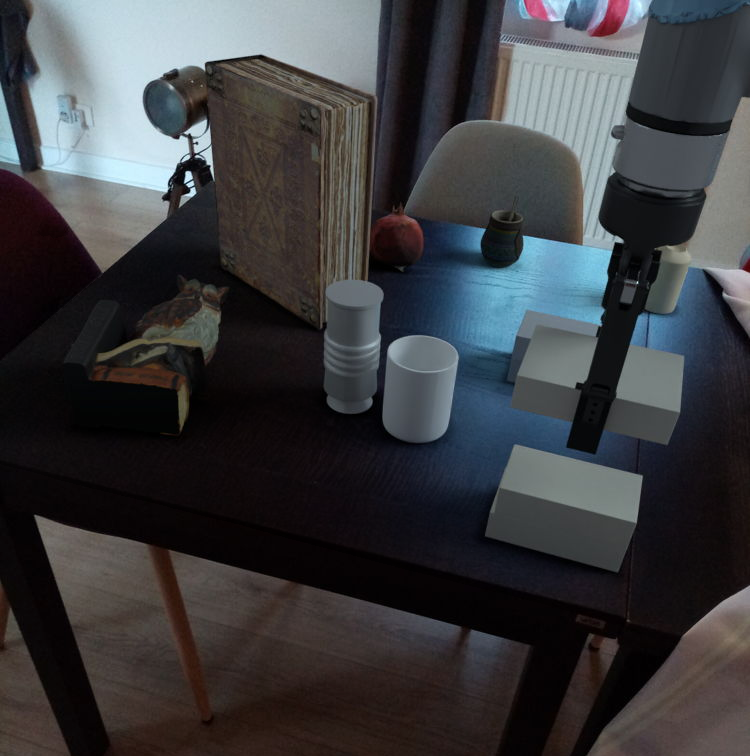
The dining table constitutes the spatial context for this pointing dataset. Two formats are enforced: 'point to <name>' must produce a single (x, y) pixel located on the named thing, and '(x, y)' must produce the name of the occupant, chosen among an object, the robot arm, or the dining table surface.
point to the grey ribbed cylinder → (352, 344)
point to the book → (291, 179)
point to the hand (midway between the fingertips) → (588, 417)
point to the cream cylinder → (668, 279)
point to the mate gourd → (503, 238)
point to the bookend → (145, 362)
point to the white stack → (566, 507)
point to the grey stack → (546, 320)
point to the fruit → (396, 240)
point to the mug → (419, 388)
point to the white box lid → (571, 365)
